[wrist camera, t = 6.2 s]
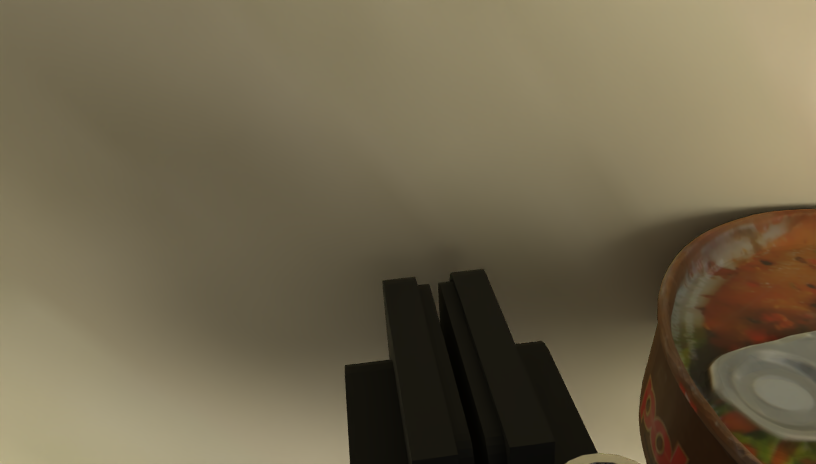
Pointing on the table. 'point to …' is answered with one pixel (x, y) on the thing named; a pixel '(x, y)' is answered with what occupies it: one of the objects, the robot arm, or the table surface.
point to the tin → (736, 347)
